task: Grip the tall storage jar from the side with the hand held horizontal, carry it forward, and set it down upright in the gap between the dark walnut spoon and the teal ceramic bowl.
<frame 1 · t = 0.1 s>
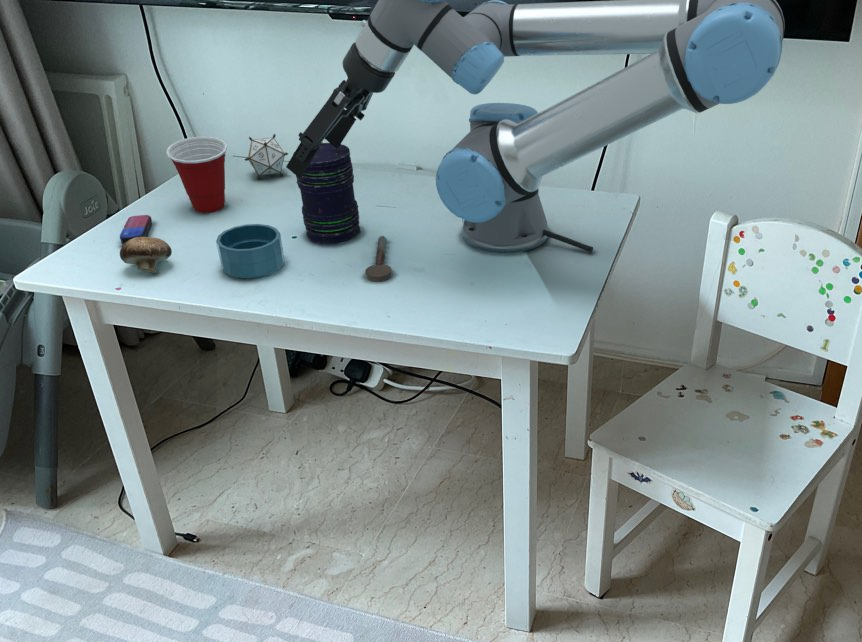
hand: (312, 157, 148), 16 cm above the table, tool tilted 35°, fingers open, 13 cm apart
mushroom: (150, 269, 151), on the table
game die: (269, 176, 185), on the table
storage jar: (333, 234, 162), on the table, touching gripper
bowl: (253, 266, 151), on the table
spoon: (380, 263, 153), on the table
eraser: (138, 235, 162), on the table
plastic cup: (209, 208, 172), on the table
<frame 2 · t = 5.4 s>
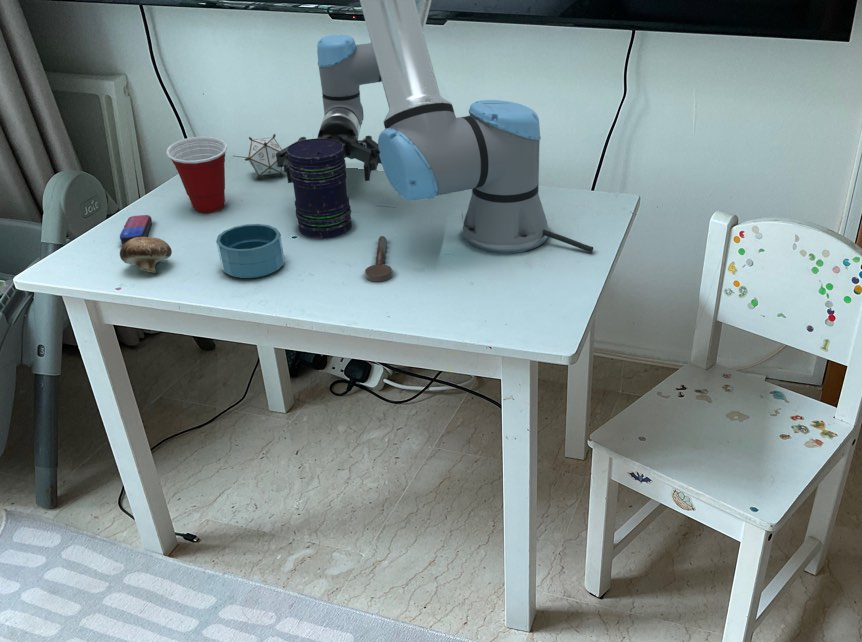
hand: (327, 174, 159), 10 cm above the table, tool horizontal, fingers open, 13 cm apart
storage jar: (325, 228, 164), on the table, touching gripper
everything else where it was.
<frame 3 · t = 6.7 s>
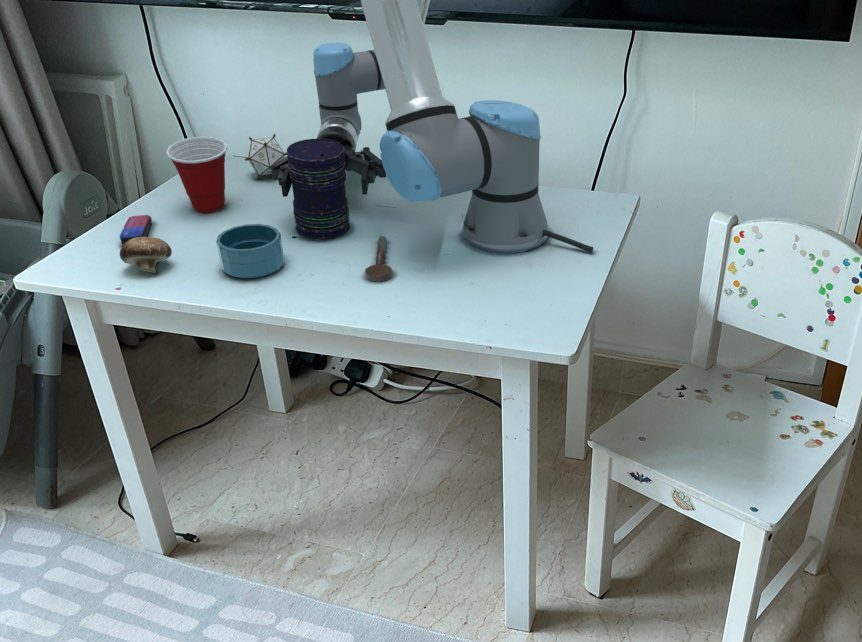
hand: (324, 188, 154), 10 cm above the table, tool horizontal, fingers open, 13 cm apart
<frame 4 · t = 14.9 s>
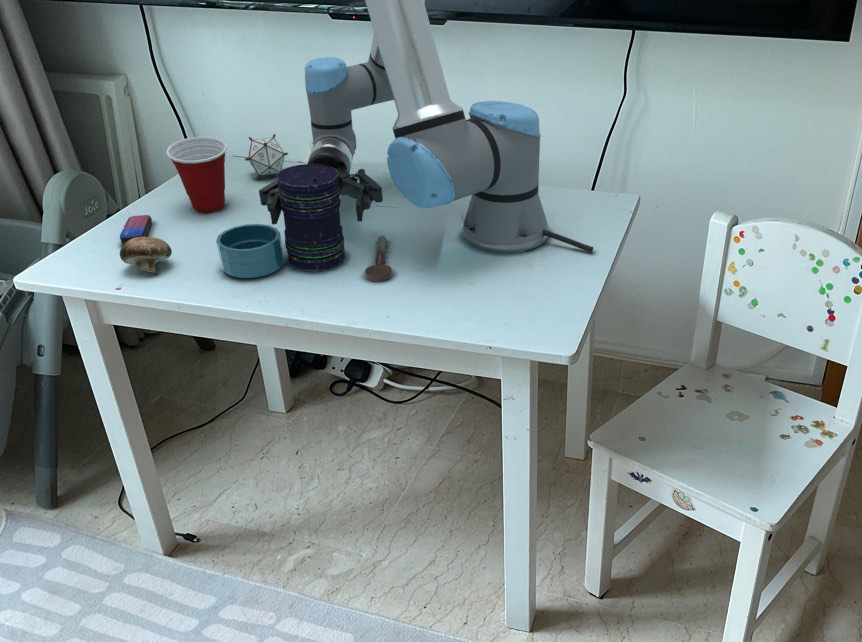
hand: (316, 215, 143), 10 cm above the table, tool horizontal, fingers open, 13 cm apart
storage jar: (316, 259, 154), on the table, touching gripper
everything else where it was.
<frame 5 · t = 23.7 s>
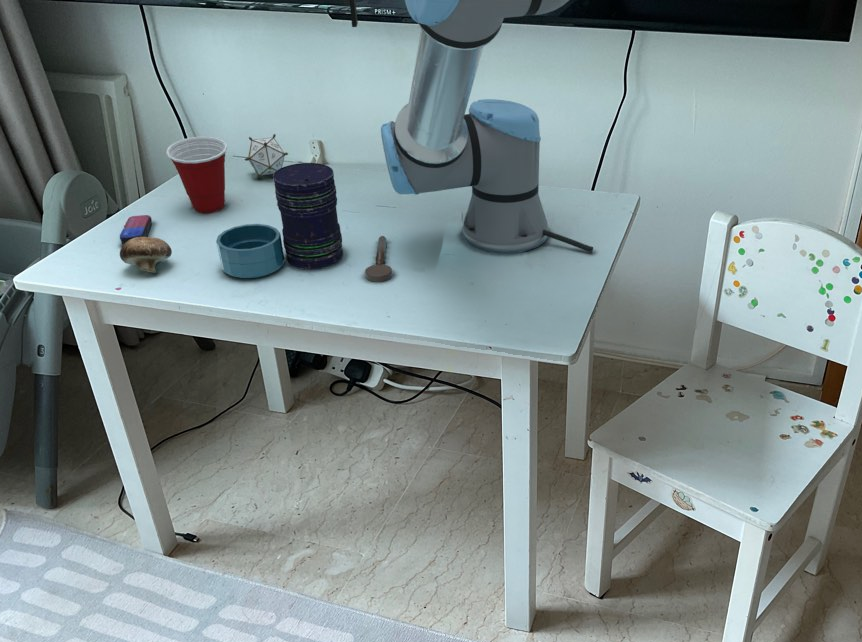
hand: (394, 24, 153), 33 cm above the table, tool pointing down, fingers open, 13 cm apart
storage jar: (315, 258, 155), on the table
everything else where it was.
at the end: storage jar inside the target area (3.7 cm from its centre), on the table; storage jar tilted 0°; the gripper is holding nothing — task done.
